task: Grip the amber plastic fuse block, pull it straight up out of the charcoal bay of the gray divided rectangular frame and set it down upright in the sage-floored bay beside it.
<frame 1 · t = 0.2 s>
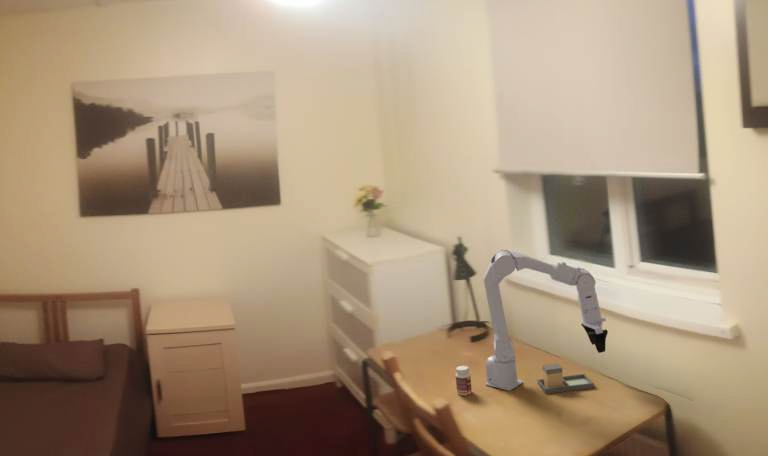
hand: (598, 347, 205), 11 cm above the table, tool pointing down, fingers open, 7 cm apart
gray divided rectangular frame: (565, 385, 204), on the table
pill bottle: (464, 393, 208), on the table
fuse: (553, 387, 204), resting in gray divided rectangular frame
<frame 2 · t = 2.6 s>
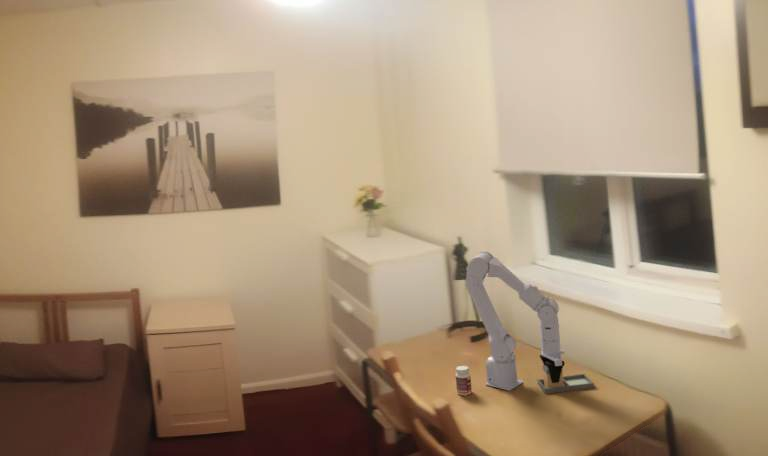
hand: (553, 379, 204), 3 cm above the table, tool pointing down, fingers closed on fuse, 4 cm apart
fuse: (553, 387, 204), resting in gray divided rectangular frame, touching gripper
everything else where it was.
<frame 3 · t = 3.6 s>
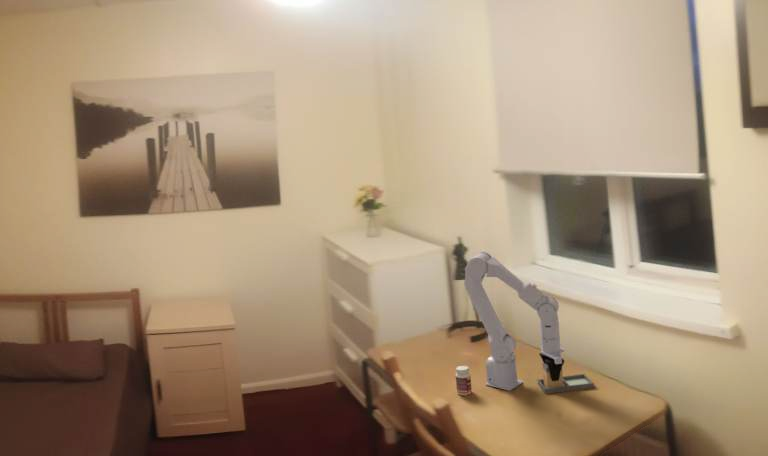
hand: (552, 377, 204), 3 cm above the table, tool pointing down, fingers closed on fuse, 4 cm apart
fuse: (553, 385, 204), point 1 cm above the table, touching gripper
everything else where it was.
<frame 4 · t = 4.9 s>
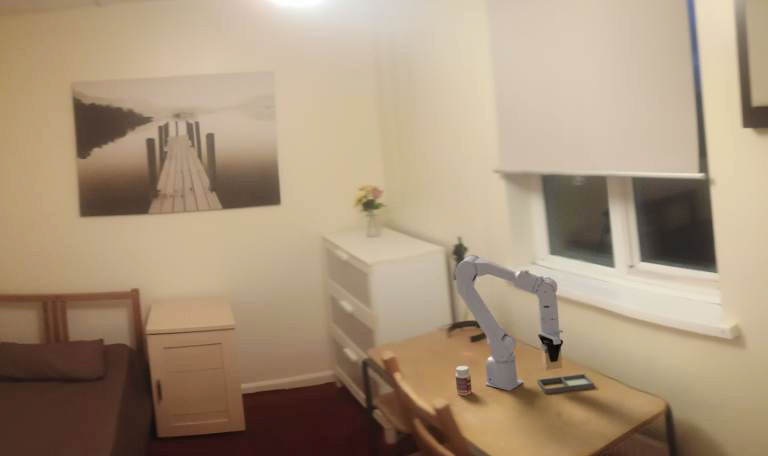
hand: (551, 358, 203), 10 cm above the table, tool pointing down, fingers closed on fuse, 4 cm apart
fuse: (552, 366, 203), point 7 cm above the table, touching gripper
everything else where it was.
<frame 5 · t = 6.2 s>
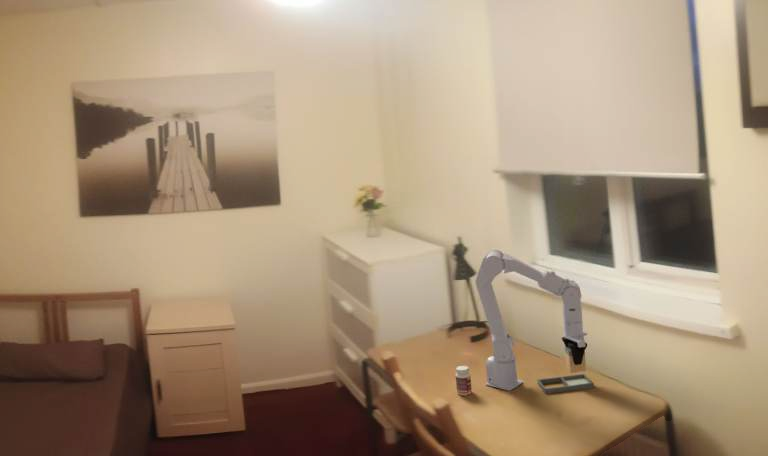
hand: (575, 361, 203), 8 cm above the table, tool pointing down, fingers closed on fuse, 4 cm apart
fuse: (575, 369, 204), point 5 cm above the table, touching gripper
everything else where it was.
when the fingers open (4 cm above the table, at t = 7.4 s): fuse stays where it is, resting on gray divided rectangular frame.
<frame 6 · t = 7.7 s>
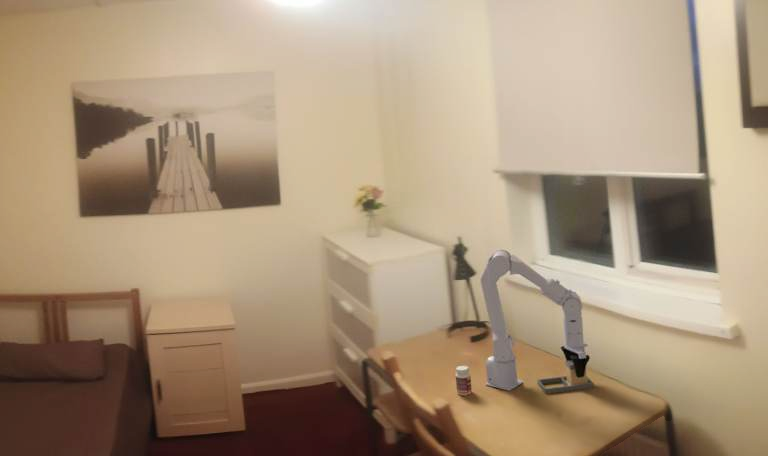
hand: (576, 372, 204), 4 cm above the table, tool pointing down, fingers open, 7 cm apart
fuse: (576, 383, 204), resting on gray divided rectangular frame
everything else where it was.
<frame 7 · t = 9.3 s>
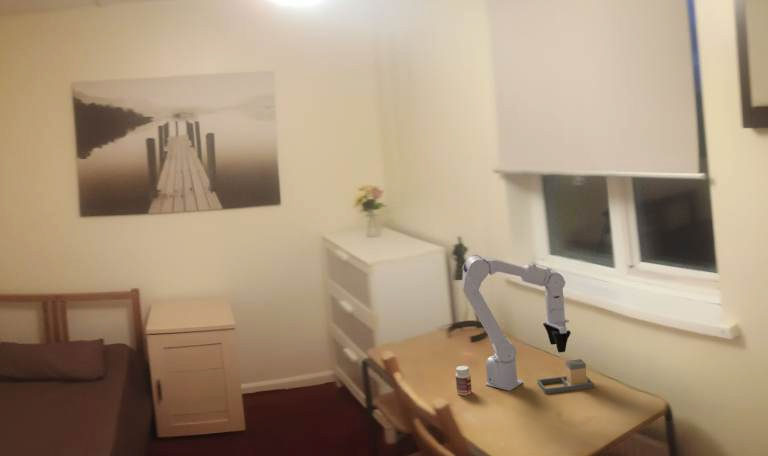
hand: (557, 347, 209), 10 cm above the table, tool pointing down, fingers open, 7 cm apart
nothing on the table moved.
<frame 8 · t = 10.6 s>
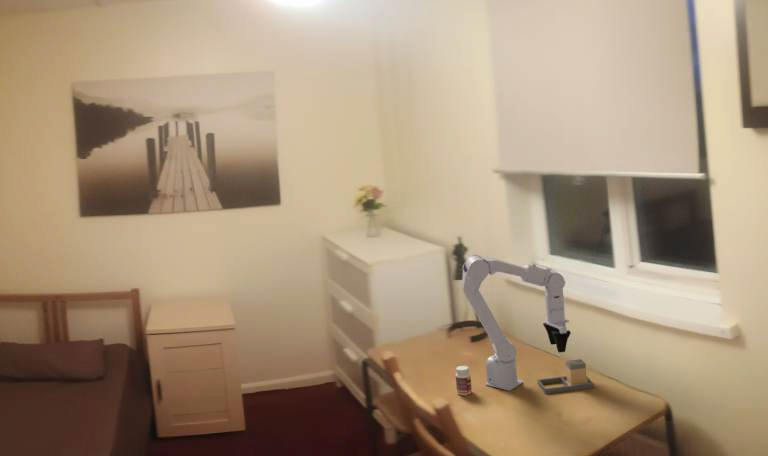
hand: (557, 347, 209), 10 cm above the table, tool pointing down, fingers open, 7 cm apart
nothing on the table moved.
at the end: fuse 0.0 cm from the target spot, resting on gray divided rectangular frame; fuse tilted 0°; the gripper is holding nothing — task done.
